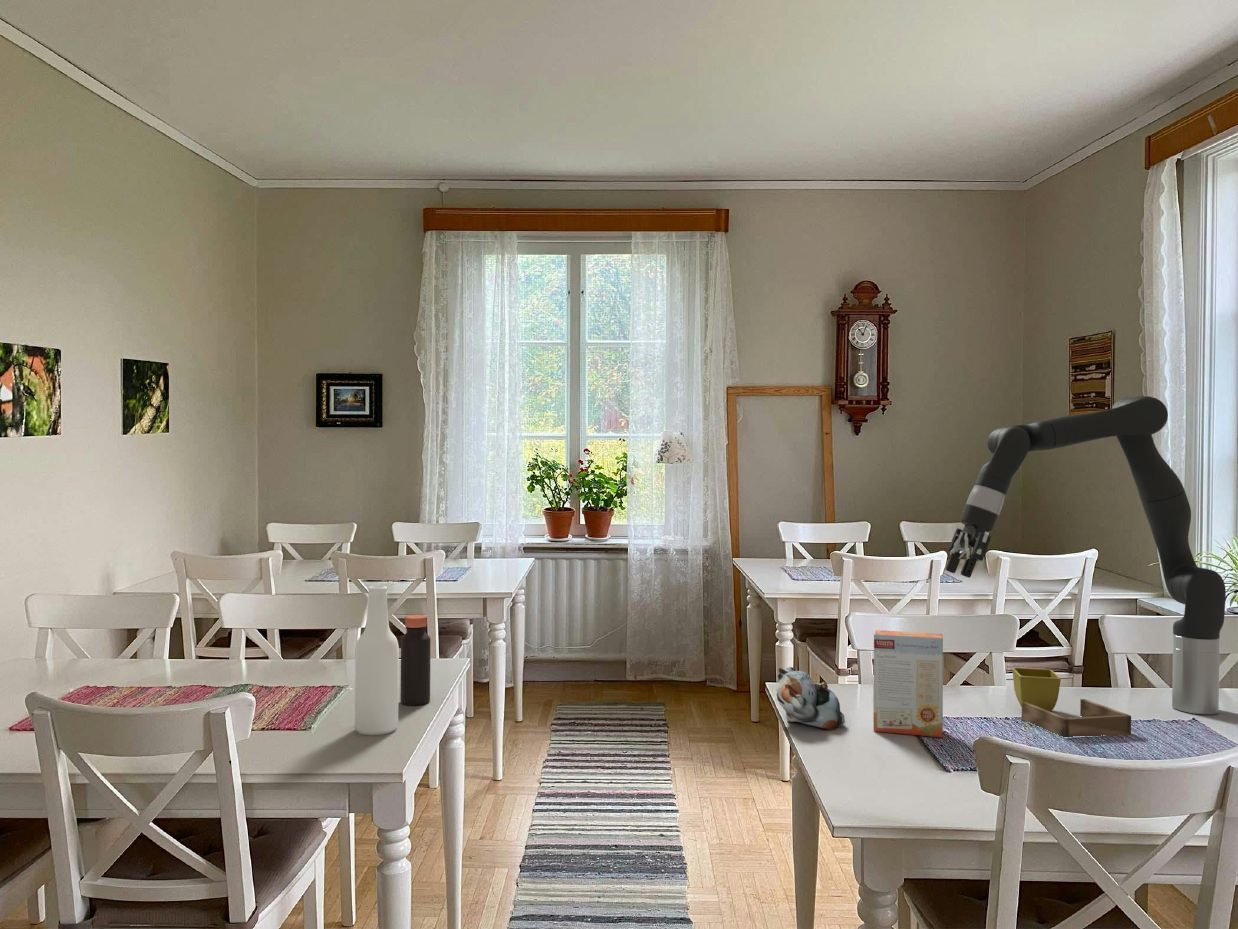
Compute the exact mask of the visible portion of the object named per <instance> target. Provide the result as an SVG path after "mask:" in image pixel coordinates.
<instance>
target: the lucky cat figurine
mask: <svg viewBox="0 0 1238 929" xmlns="http://www.w3.org/2000/svg"><path fill="white" fill-rule="evenodd" d="M778 672H779V673H778V675H777V678H778V684H777V686H776V700H777V702H778V703H779V705H780V706H781V707H782V709H783V710H784V711H785V716H786V721H787V722H788V723H789V722H792V723H801V724H805V725H808V726H813V727H817V728H820V729H823V730H826V731H831V730H835V729H836V730H837V729H838V728H840V727H841V726H842V725H844V724H845V723H846V721H845V714H844V713H843V712H841V704H840V701H839V698H838V697H837V696H836V694H835V692H833V690H831V689H829V685H828V684H827V683H826V681H823V682H820V684H819V683H814V681H813V679H812V677H810V674H809V673H807V672H806V671H803V670H795V669H794V667H792V666H789V667H786V669H783V668H781V667H779V668H778Z"/></svg>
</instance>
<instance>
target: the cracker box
mask: <svg viewBox="0 0 1238 929" xmlns="http://www.w3.org/2000/svg"><path fill="white" fill-rule="evenodd" d="M943 650H944V638H943V633H933V632H917V631H902V630H901V631H899V630H897V631H896V630H881V629H876V630H875V632H874V634H873V714H872V715H873V716H872V717H873V718H872V719H873V720H872V721H873V731H874V732H879V733H891V734H900V735H913V736H923V737H933V738H942V737H943V733H944V732H943V731H944V729H943V728H944V725H943V724H944V723H943V722H944V716H943V714H944V708H943V707H944V706H943V704H944V698H943V697H944V696H943V693H944V689H943V688H944V687H943V686H944V685H943V684H944V682H943V681H944V679H943V678H944V677H943V676H944V671H943V670H944V669H943V668H944V666H943V664H944V662H943V661H944V660H943V659H944V658H943V657H944V651H943Z"/></svg>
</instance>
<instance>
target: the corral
mask: <svg viewBox="0 0 1238 929" xmlns="http://www.w3.org/2000/svg"><path fill="white" fill-rule="evenodd" d="M1079 707H1080V710H1079V711H1080V714H1079V715H1080V716H1082V717H1079V716H1078V717H1064V716H1062V715H1059V714H1056V713H1054V712H1052V711H1051V712H1049V711H1047V710H1044V709H1042V708H1039V707H1037V706H1034V705H1032V704H1029V703H1027V702H1022V707H1021V721H1022V720H1025V721H1028V722H1030V723H1032V724H1035V725H1036V726H1039V727H1042V728H1043V729H1046V730H1048V731H1050V732H1052V733H1055V734H1058V735H1059V736H1063V737H1073V736H1101V735H1102V736H1103V735H1106V736H1105V737H1115V736H1116V737H1117V735H1118V736H1130V735H1132V715H1130V714H1127V713H1125V712H1121V711H1119V710H1117V709H1115V708H1114V709H1113V708H1111V707H1108V706H1105V705H1102V704H1099V703H1097V702H1094V701H1091V700H1089V699H1085V698H1080V705H1079ZM1025 721H1024V722H1025ZM1036 726H1035V727H1036ZM1043 729H1042V730H1043ZM1048 731H1047V732H1048ZM1050 732H1049V733H1050ZM1052 733H1051V734H1052ZM1055 734H1054V735H1055ZM1114 735H1115V736H1114ZM1059 736H1058V737H1059ZM1103 737H1104V736H1103Z"/></svg>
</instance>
